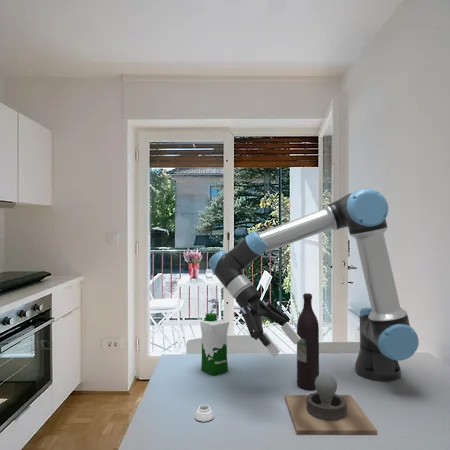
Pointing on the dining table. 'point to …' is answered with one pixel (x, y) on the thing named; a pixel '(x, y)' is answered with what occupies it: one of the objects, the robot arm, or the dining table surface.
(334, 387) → the light bulb
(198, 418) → the lidless jar
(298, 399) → the lamp holder
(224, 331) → the milk carton
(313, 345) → the wine bottle
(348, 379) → the dining table surface
